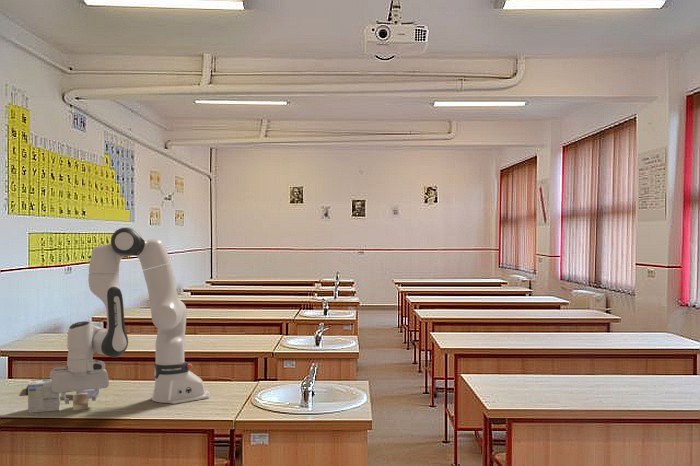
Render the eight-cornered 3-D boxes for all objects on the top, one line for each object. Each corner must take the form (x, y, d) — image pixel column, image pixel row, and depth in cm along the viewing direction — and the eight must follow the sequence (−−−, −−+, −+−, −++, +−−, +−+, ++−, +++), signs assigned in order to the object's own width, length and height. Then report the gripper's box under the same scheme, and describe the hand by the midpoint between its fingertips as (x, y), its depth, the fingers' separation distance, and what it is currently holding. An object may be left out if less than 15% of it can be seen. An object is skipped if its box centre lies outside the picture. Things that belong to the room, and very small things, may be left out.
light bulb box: (60, 406, 253) (60, 377, 253) (59, 410, 247) (59, 381, 247) (29, 409, 249) (29, 380, 249) (27, 413, 243) (27, 384, 243)
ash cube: (87, 405, 253) (87, 392, 253) (88, 408, 249) (87, 395, 249) (73, 407, 251) (72, 394, 251) (73, 410, 247) (73, 397, 247)
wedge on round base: (62, 398, 264) (94, 399, 263) (62, 381, 264) (94, 382, 263) (73, 393, 273) (104, 393, 272) (73, 376, 273) (104, 377, 272)
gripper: (49, 369, 243) (50, 407, 243) (109, 364, 251) (109, 400, 251) (49, 366, 249) (50, 403, 249) (107, 361, 257) (108, 397, 257)
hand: (80, 402), depth 250 cm, fingers open, 8 cm apart
